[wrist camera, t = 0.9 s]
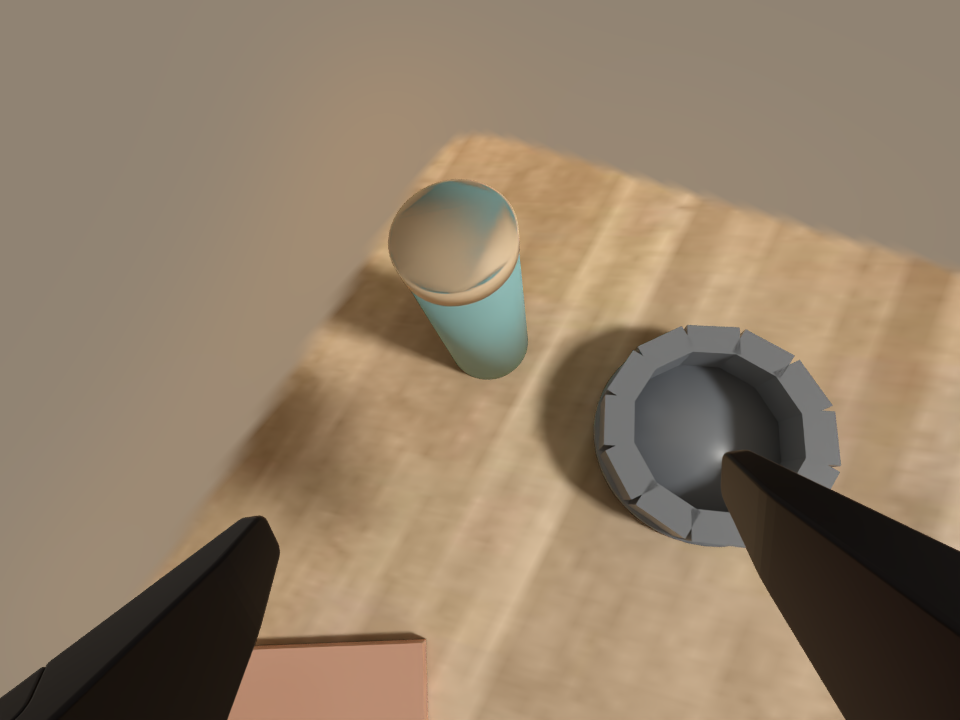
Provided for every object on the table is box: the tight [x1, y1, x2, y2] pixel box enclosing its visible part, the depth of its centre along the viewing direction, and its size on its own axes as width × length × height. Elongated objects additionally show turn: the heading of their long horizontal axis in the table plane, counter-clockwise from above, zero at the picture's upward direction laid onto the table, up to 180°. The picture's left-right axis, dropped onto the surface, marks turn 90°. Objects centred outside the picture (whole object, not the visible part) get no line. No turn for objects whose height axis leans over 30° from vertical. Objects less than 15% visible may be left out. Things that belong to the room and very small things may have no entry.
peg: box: [388, 179, 528, 379], centre depth 19 cm, size 4×4×10 cm
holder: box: [594, 325, 841, 548], centre depth 20 cm, size 9×9×3 cm
